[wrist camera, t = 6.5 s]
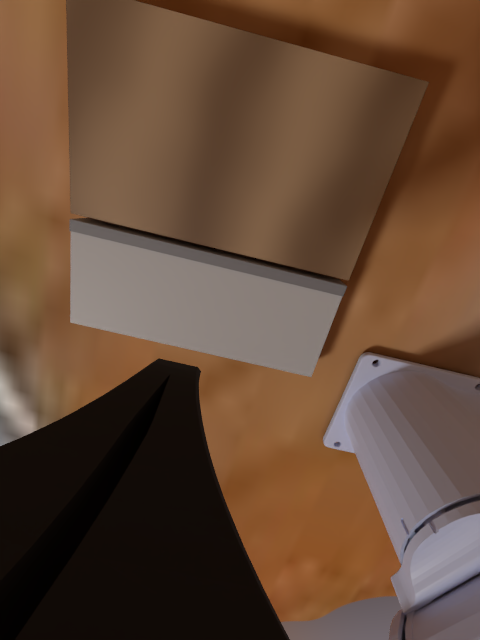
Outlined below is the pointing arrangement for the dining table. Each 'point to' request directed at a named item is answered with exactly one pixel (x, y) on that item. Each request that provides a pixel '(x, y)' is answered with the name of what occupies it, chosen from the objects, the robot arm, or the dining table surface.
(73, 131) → the walnut plank
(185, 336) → the grey board
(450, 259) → the dining table surface
